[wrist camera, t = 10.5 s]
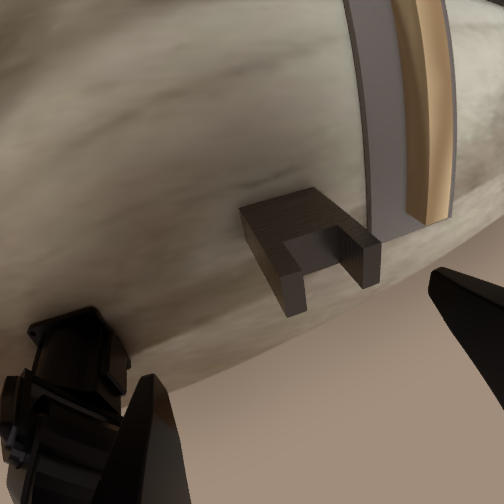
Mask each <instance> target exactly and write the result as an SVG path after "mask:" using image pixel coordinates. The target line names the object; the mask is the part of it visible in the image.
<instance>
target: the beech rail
mask: <svg viewBox="0 0 504 504" xmlns="http://www.w3.org/2000/svg"><path fill="white" fill-rule="evenodd" d="M391 5H392V10H393V16H394V21H395V27H396V33H397V39H398V46H399V53H400V61H401V70H402V79H403V90H404V102H405V118H406V142H407V193H406V213H408V214H409V215H411V216H412V217H413V218H415V219H416V220H418V221H419V222H421V223H422V224H423V225H425V226H427V225H430V224H432V223H435V222H438V221H440V220H443V219H446V218H447V217H448V208H449V199H450V187H451V173H452V152H453V105H452V84H451V70H450V60H449V50H448V42H447V35H446V28H445V22H444V16H443V10H442V5H441V0H391Z"/></svg>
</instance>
